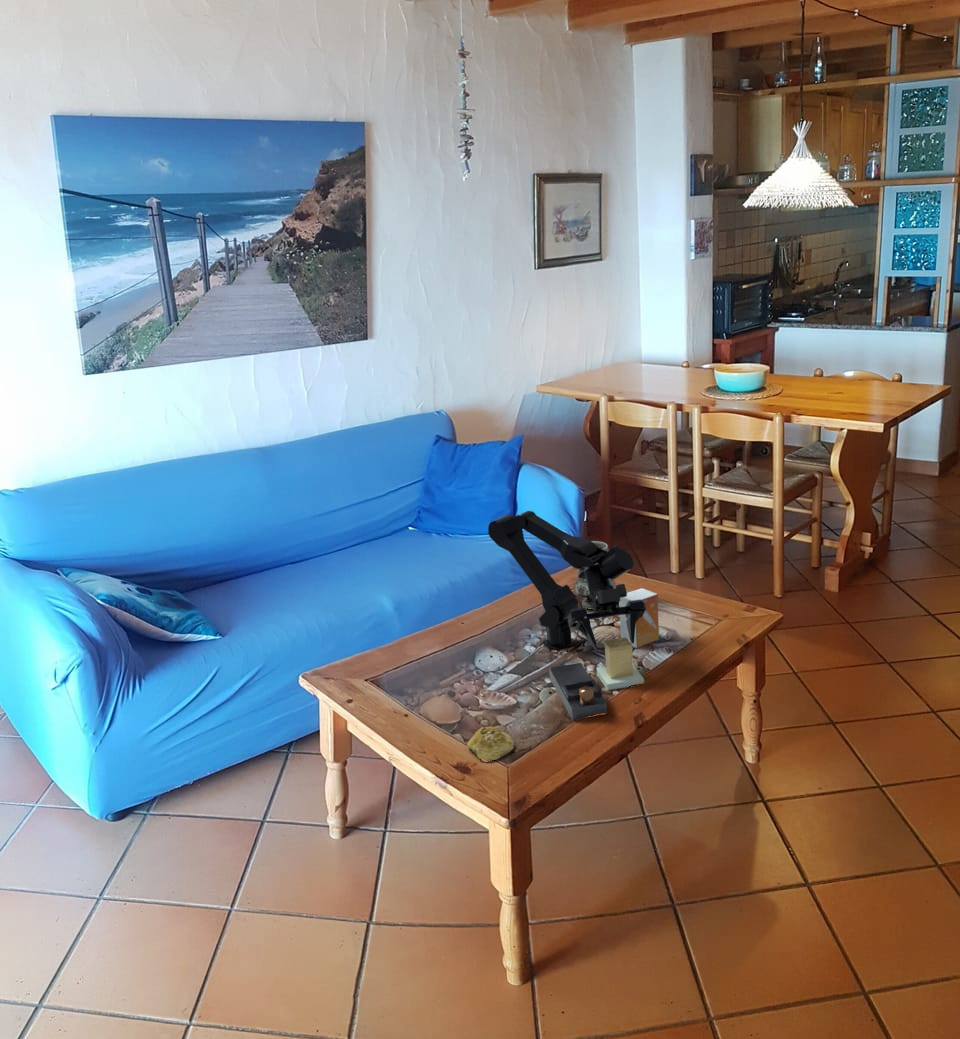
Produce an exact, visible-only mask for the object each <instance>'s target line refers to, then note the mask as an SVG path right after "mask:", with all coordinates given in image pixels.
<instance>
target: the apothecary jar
mask: <svg viewBox="0 0 960 1039" xmlns="http://www.w3.org/2000/svg"><path fill="white" fill-rule="evenodd" d="M590 541H591V542H593V543H594V544H595V545H596V546H597V547H599V548H601V549H603V550H605V551H609V550H610V548H609V545H608V544H607V543H606V542H603V541H599V540H590ZM594 565H597V563H596V564H594ZM583 568H588V567H583ZM583 568H579V569H577V579H576V580H575V581H574V583H573V590H574V591H575V592H576V594H578V595H579V596H580V597H582V598H583V599H584V598H585V599H584V600H583V601H582V606H583V607H585V608H588V609H593V605H592V601H591V600H590V593H589V589H588V585H587V581H586V579H583V578H579V574H580V573H581V571H582V569H583ZM609 579H610V578H609ZM610 583H611V585H612V586H613V589H616V585H617V584H616V581H615V579H614V580H613V579H610Z"/></svg>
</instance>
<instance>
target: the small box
mask: <svg viewBox="0 0 960 1039" xmlns="http://www.w3.org/2000/svg"><path fill="white" fill-rule="evenodd" d="M658 595H659V594H658V593H656V592H653V591H651V590H648V589H645V588H643V587H640V588H638V589H635V590H632V591H629V592H627V596H626V597H621V598H620V600H621V601H619V605H618V607H625V606H626V605H627V602H628V601H633V600H640V599H641V600H642V601H644V603H645V606H646V610H645V612H644V614H643V616H642V617H641V618H639V620H638V621H636V625H635V636H634V643H633V644H632V643H631V641H630V637H629V632H628V628H627V623H626V620H627V617H626V615H619V623H620V625H619V626H620V638H624V637H626V638H627V639H628V641H629V642H630V643H631V644H632V648H635V649H638V648H641V647H643V646H645V645H648V644H651V643H654V642H655V641H659V640H660V631H659V630H660V628H659V601H658V600H659V596H658Z"/></svg>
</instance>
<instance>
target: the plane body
mask: <svg viewBox="0 0 960 1039" xmlns="http://www.w3.org/2000/svg"><path fill="white" fill-rule="evenodd" d="M548 669H549V671H548V672H549V680H550V682H551V684H552V685H553V687H554V689H555V690H556V692H557V694H558V697H559V699H560V700H561V701H562V703H563V705H564V707H565V709H566V711H567V713H568V715H569V716H570V718H571V721H579V720H584V719H583V718H585V717H588V716H593V715H596V714H601V713H606V712H607V713H608V703H607V701H606V699H605V698H604V697H603V695H602V692H601V689H600V687H598V685H597V682H595V680H594V679H592V678H591V676H590V674H589V673H588V672H587V670H586V668H585V667H584V665H583V663H581V662H577V663H571V664H564V665H558V666H552V667H549V668H548ZM585 719H586V718H585Z"/></svg>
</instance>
